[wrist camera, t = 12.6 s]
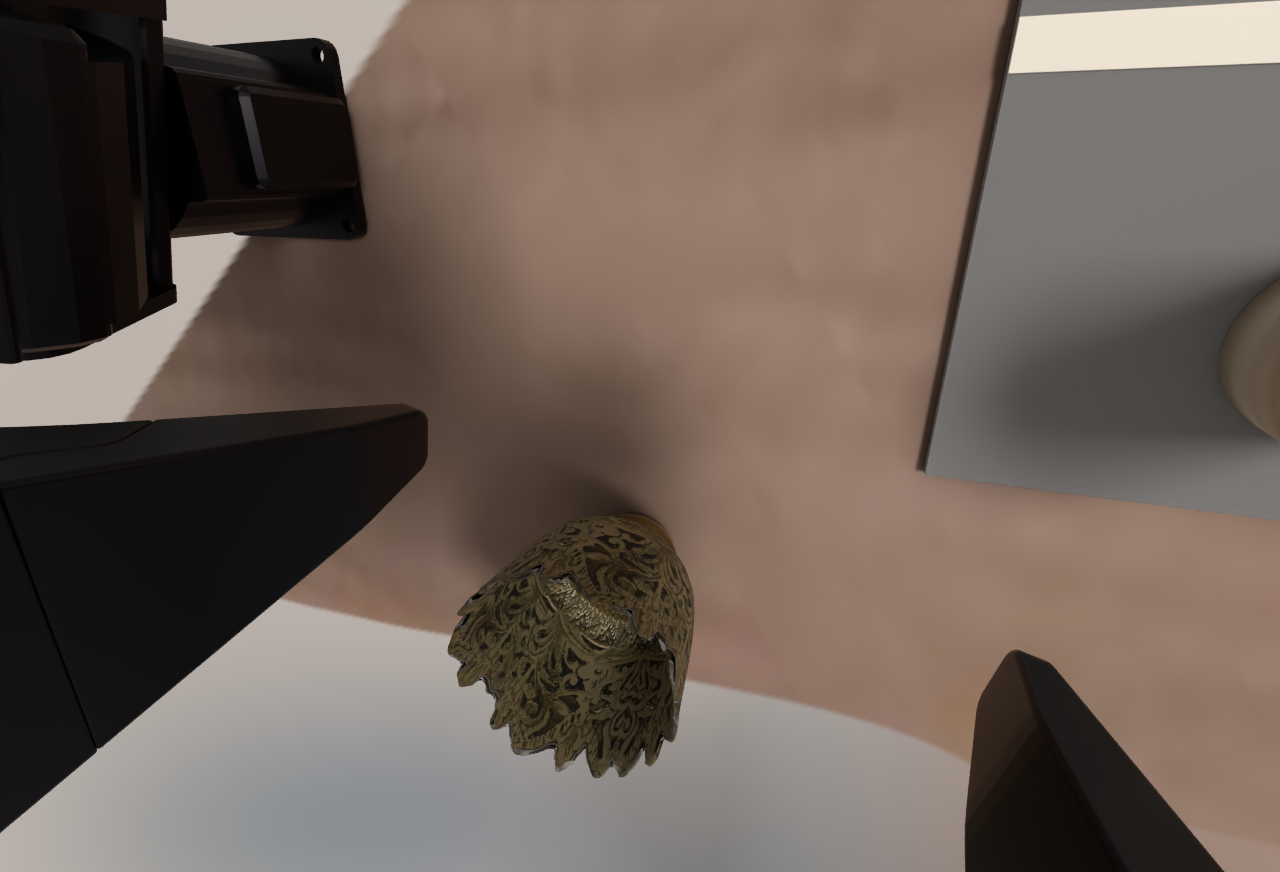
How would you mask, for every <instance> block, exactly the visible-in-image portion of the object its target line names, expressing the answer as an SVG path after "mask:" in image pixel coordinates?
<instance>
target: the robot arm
mask: <svg viewBox="0 0 1280 872" xmlns="http://www.w3.org/2000/svg"><path fill="white" fill-rule="evenodd" d="M162 20H165V21H166V20H167V14H166V0H0V363H5V364H15V363H19V362H22V361H25V360H27V361H28V360H36V359H44V358H51V357H56V356H60V355H65V354H69V353H72V352H75V351H77V350H80V349H82V348H85V347H87V346H89V345H91V344H93V343H95V342H100V341H102V340H104V339H106V338H107V337H108V336H111V335H112V334H113V333H115V332H117V331H119V330H121V329H123V328H125V327H127V326H130V325H131V324H134V323H136V322H137V321H139V320H142V319H144V318H146V317H147V316H150V315H152V314H154V313H156V312H158V311H160V310H162V309H164V308H166V307H168V306H170V305H172V304H174V303H176V302H177V292H176V285H175V284H173V280H172V255H171V238H179V237H189V236H199V235H210V234H220V233H230V232H233V233H234V234H236V235H244V236H270V237H296V238H322V239H348V240H351V239H358V238H362V237H363V236H364V235H365V233H366V220H365V214H364V208H363V202H362V196H361V190H360V184H359V178H358V172H357V166H356V160H355V154H354V148H353V142H352V136H351V130H350V124H349V118H348V112H347V106H346V100H345V94H344V88H343V82H342V76H341V70H340V64H339V58H338V54H337V51H336V49H335V47H334V46H333V44H332V43H330V42H329V41H326V40H322V39H318V38H307V39H306V38H305V39H293V40H280V41H266V42H253V43H240V44H226V45H213V46H209V45H204V44H198V43H193V42H188V41H183V40H177V39H173V38H168V37H163V25H162V24H163V23H162ZM321 51H323V54H324V60H323V62H322V60H321V58H320V53H321ZM350 220H351V221H352V223H353V226H354V229H353V230H352V229H351V226H350ZM427 455H428V419H427V416H426V414H425V413H424V412H423V411H421V410H419V409H416V408H414V407H411V406H409V405H406V404H388V405H373V406H358V407H343V408H328V409H313V410H298V411H283V412H267V413H252V414H237V415H222V416H207V417H192V418H177V419H162V420H156V421H154V422H152V421H150V420H145V421H130V422H114V423H98V424H79V425H55V426H30V427H0V833H1V832H2V831H3V830H4V829H5V828H7V827H8V826H9V825H10V824H11V823H13V822H14V821H15V820H16V819H17V818H18V817H20V816H21V815H22V814H23V813H25V812H26V811H27V810H28V809H29V808H30V807H32V806H33V805H34V804H35V803H37V802H38V801H39V800H40V799H41V798H42V797H44V796H45V795H46V794H47V793H48V792H50V791H51V790H52V789H53V788H54V787H55V786H57V785H58V784H59V783H60V782H62V781H63V780H64V779H65V778H66V777H68V776H69V775H70V774H71V773H72V772H74V771H75V770H76V769H77V768H78V767H79V766H81V765H82V764H83V763H84V762H85V761H87V760H88V759H89V758H90V757H91V756H93V755H94V754H95V753H96V752H97V748H98V749H99V748H101V747H103V746H104V745H105V744H106V743H107V742H109V741H110V740H111V739H112V738H113V737H115V736H116V735H117V734H118V733H119V732H121V731H122V730H123V729H124V728H125V727H127V726H128V725H129V724H130V723H131V722H133V721H134V720H135V719H136V718H137V717H139V716H140V715H141V714H142V713H143V712H144V711H146V710H147V709H148V708H149V707H150V706H152V705H153V704H154V703H155V702H156V701H158V700H159V699H160V698H161V697H162V696H164V695H165V694H166V693H167V692H168V691H170V690H171V689H172V688H173V687H174V686H175V685H177V684H178V683H179V682H180V681H182V680H183V679H184V678H185V677H186V676H188V675H189V674H190V673H191V672H192V671H193V670H195V669H196V668H197V667H198V666H200V665H201V664H202V663H203V662H204V661H205V660H207V659H208V658H209V657H210V656H212V655H213V654H214V653H215V652H216V651H218V650H219V649H220V648H221V647H222V646H223V645H225V644H226V643H227V642H228V641H229V640H231V639H232V638H233V637H234V636H235V635H237V634H238V633H239V632H240V631H241V630H243V629H244V628H245V627H246V626H247V625H248V624H250V623H251V622H252V621H253V620H255V619H256V618H257V617H258V616H259V615H261V614H262V613H263V612H264V611H265V610H267V609H268V608H269V607H270V606H271V605H273V604H274V603H275V602H276V601H277V600H279V599H280V598H281V597H282V596H283V595H284V594H286V593H287V592H288V591H289V590H290V589H292V588H293V587H294V586H295V585H296V584H298V583H299V582H300V581H301V580H302V579H304V578H305V577H306V576H307V575H308V574H310V573H311V572H312V571H313V570H314V569H316V568H317V567H318V566H319V565H320V564H322V563H323V562H324V561H325V560H326V559H328V558H329V557H330V556H331V555H332V554H334V553H335V552H336V551H337V550H338V549H340V548H341V547H342V546H343V545H344V544H346V543H347V542H348V541H349V540H350V539H351V538H353V537H354V536H355V535H356V534H357V533H358V532H359V531H361V530H362V529H363V528H364V527H365V526H366V525H367V524H368V523H369V522H370V521H371V520H372V519H373V518H374V517H375V516H376V515H377V514H378V513H379V512H380V511H381V510H382V509H383V508H384V507H385V506H386V505H387V504H388V503H389V502H390V501H391V500H392V499H393V498H394V497H395V496H396V495H397V494H398V493H399V492H400V490H401V489H402V488H403V487H404V486H405V485H406V484H407V483H408V482H409V481H410V480H411V479H412V478H413V477H414V476H415V475H416V474H417V473H418V472H419V471H420V470H421V469H422V468H423V466H424V465H425V462H426V460H427ZM965 872H1224V871H1223V870H1222V868H1221V867H1220V866H1219V865H1218V864H1217V862H1216V861H1215V860H1214V859H1213V858H1212V856H1211V855H1210V854H1209V853H1208V851H1207V850H1206V849H1205V848H1204V847H1203V845H1202V844H1201V843H1200V842H1199V841H1198V839H1197V838H1196V837H1195V836H1194V835H1193V833H1192V832H1191V831H1190V830H1189V829H1188V827H1187V826H1186V825H1185V824H1184V823H1183V821H1182V820H1181V819H1180V818H1179V817H1178V815H1177V814H1176V813H1175V812H1174V811H1173V809H1172V808H1171V807H1170V806H1169V805H1168V803H1167V802H1166V801H1165V800H1164V799H1163V797H1162V796H1161V795H1160V794H1159V793H1158V791H1157V790H1156V789H1155V788H1154V787H1153V785H1152V784H1151V783H1150V782H1149V781H1148V779H1147V778H1146V777H1145V776H1144V775H1143V773H1142V772H1141V771H1140V770H1139V768H1138V767H1137V766H1136V765H1135V764H1134V762H1133V761H1132V760H1131V759H1130V758H1129V756H1128V755H1127V754H1126V753H1125V752H1124V750H1123V749H1122V748H1121V747H1120V746H1119V744H1118V743H1117V742H1116V741H1115V740H1114V738H1113V737H1112V736H1111V735H1110V734H1109V732H1108V731H1107V730H1106V729H1105V728H1104V726H1103V725H1102V724H1101V723H1100V722H1099V720H1098V719H1097V718H1096V717H1095V716H1094V714H1093V713H1092V712H1091V711H1090V710H1089V708H1088V707H1087V706H1086V705H1085V704H1084V702H1083V701H1082V700H1081V699H1080V698H1079V696H1078V695H1077V694H1076V693H1075V692H1074V690H1073V689H1072V688H1071V687H1070V685H1069V684H1068V683H1067V682H1066V681H1065V679H1064V678H1063V677H1062V676H1061V675H1060V673H1059V672H1058V671H1057V670H1056V669H1055V668H1054V666H1053V665H1052V664H1050V663H1049V662H1047V661H1045V660H1043V659H1040V658H1038V657H1035V656H1032V655H1030V654H1027V653H1025V652H1022V651H1020V650H1013V651H1010V652H1009V653H1008V654H1007V655H1006V656H1005V658H1004V659H1003V661H1002V662H1001V664H1000V666H999V667H998V669H997V670H996V672H995V673H994V675H993V677H992V678H991V680H990V681H989V683H988V685H987V686H986V688H985V689H984V691H983V693H982V695H981V697H980V699H979V702H978V706H977V711H976V720H975V729H974V739H973V748H972V758H971V767H970V778H969V786H968V796H967V805H966V818H965Z"/></svg>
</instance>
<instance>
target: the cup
mask: <svg viewBox="0 0 1280 872" xmlns="http://www.w3.org/2000/svg"><path fill="white" fill-rule="evenodd" d="M457 615H459V616H463V615H464V616H463V618H462V619H461V621H460V622H459V623H458V624H457V626H456V627H455V630H454V632H453V635H452V637H451V640H450V643H449V646H448V654H449V655H450V656H451V657H454V658H456V659H457V660H458V661H460V663H461V664H462V665H461V667H460V668H459V670H458V672H457V677H458V682H459V686H461V687H465V686H471V685H473V684H474V683H475V682H477V681H478V680H482V679H480V678H483V679H484V680H483V681H484V683H485V682H486V683H485V684H486V693H488V694H491V695H493V697H494V696H495V698H496V702H495V711H494V713H493V715H492V717H491V719H490V726H491V728H492V729H494V730H495V729H500V728H502V727H505V726H506V725H507V724H509V736H510V740H511V748H512V750H513V752H514V753H515V754H517V755H522V756H526V755H530V754H535V753H539V752H540V751H544V750H545V749H554V750H555V748H556V750H555V755H554V760H555V769H556V772H560V771H562V770H563V769H565V768H567V767H568V766H569V765H572V764H573V763H574V761H575V759H576V758H577V756H578V755H579V754H581V752H582V751H583V750H584V749H586V751H585V752H586V759H587V763H588V765H589V768H590V771H591V774H592V776H593V777H594V778H600V777H601V776H603V775H604V774H605V773H606V771H607V770H608V769H609V767H613V766H614V765H615V766H614V767H615V769H616V771H617V772H618V775H619V777H624V776H626V775H627V774H628V773H629V772H630V771H631V770H632V769H633V768H634V766H635V765H636V763H637V762H638V760H639V759H640V757H641V755H642V753H643V751H644V749H645V764H646V765H648V766H649V767H650V766H651V765H653V764H654V763H655V761H656V760H657V758H658V755H659V752H660V749H661V746H662V743H663V741H664V739H665V740H667V741H669V742H673V741H674V739H675V736H676V733H677V728H678V720H679V711H680V705H681V700H682V695H683V690H684V685H685V679H686V674H687V668H688V663H689V657H690V651H691V645H692V637H693V627H694V598H693V592H692V587H691V584H690V580H689V577H688V574H687V572H686V570H685V567H684V565H683V564H682V562H681V560H680V559H679V557H678V556H677V554H676V550H675V546H674V543H673V541H672V539H671V537H670V536H669V534H668V533H667V532H666V530H665V529H664V528H663V527H662V526H661V525H659V524H658V523H657V522H655V521H654V520H652V519H650V518H648V517H645V516H642V515H639V514H631V513H630V514H620V515H616V516H590V517H585V518H581V519H577V520H573V521H571V522H568V523H566V524H564V525H562V526H560V527H558V528H556V529H555V530H553V531H551V532H550V533H548V534H547V535H545V536H544V537H542V538H541V539H540V540H538V541H537V542H536V543H534V544H533V545H532V546H531V547H529V548H528V549H527V550H525V551H524V552H523V553H522V554H521V555H519V556H518V557H517V558H516V559H515V560H513V561H512V562H511V563H510V564H509V565H507V566H506V567H505V568H504V569H503V570H502V571H500V572H499V573H498V574H497V575H496V576H495V577H493V578H492V579H491V580H490V581H489V582H488V583H486V584H485V585H484V586H482V587H481V588H480V590H479V591H478V592H477V593H476V594H475V595H473V596H471V597H470V598H469V600H468V601H467V602H466V603H465V605H464V606H463V607H462V608H461V609H460V610H459V612H458V613H457ZM495 698H494V699H495Z"/></svg>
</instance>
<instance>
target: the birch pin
mask: <svg viewBox="0 0 1280 872" xmlns="http://www.w3.org/2000/svg"><path fill="white" fill-rule="evenodd" d="M1218 374H1219V379H1220V384H1221V387H1222V390H1223V392H1224V395H1225V396H1226V398H1227V400H1228V401H1229V403H1230V404H1231V405H1232V407H1233V408H1234V409H1235V410H1236V411H1237V412H1238V413H1239V414H1240V415H1242V416H1243V417H1244V418H1245V419H1247V420H1248V421H1249V422H1251V423H1252V424H1254V425H1255V426H1257V427H1258V428H1260V429H1261V430H1263V431H1264V432H1266V433H1267V434H1268V435H1270V436H1271V437H1273V438H1274V439H1276V440H1277V441H1279V442H1280V278H1279V279H1278V280H1276V281H1275V282H1273V283H1272V284H1270V285H1269V286H1268V287H1267V288H1265V289H1264V290H1263V291H1261V292H1260V293H1259V294H1258V295H1257V296H1256V297H1255V298H1254V299H1253V300H1251V301H1250V302H1249V303H1248V304H1247V306H1246V307H1245V308H1244V309H1243V310H1242V311H1241V313H1240V314H1239V315H1238V316H1237V318H1236V319H1235V321H1234V322H1233V324H1232V325H1231V327H1230V329H1229V331H1228V333H1227V335H1226V337H1225V339H1224V341H1223V344H1222V347H1221V350H1220V356H1219V362H1218Z"/></svg>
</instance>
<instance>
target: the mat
mask: <svg viewBox="0 0 1280 872" xmlns="http://www.w3.org/2000/svg"><path fill="white" fill-rule="evenodd" d="M1279 278H1280V0H1020V1H1019V5H1018V10H1017V15H1016V20H1015V25H1014V30H1013V35H1012V40H1011V45H1010V50H1009V54H1008V59H1007V64H1006V69H1005V74H1004V79H1003V84H1002V89H1001V94H1000V99H999V103H998V108H997V113H996V118H995V123H994V128H993V133H992V138H991V143H990V148H989V152H988V157H987V162H986V167H985V172H984V177H983V182H982V187H981V192H980V197H979V201H978V206H977V211H976V216H975V221H974V226H973V231H972V236H971V241H970V246H969V250H968V255H967V260H966V265H965V270H964V275H963V280H962V285H961V290H960V295H959V299H958V304H957V309H956V314H955V319H954V324H953V329H952V334H951V339H950V344H949V349H948V353H947V358H946V363H945V368H944V373H943V378H942V383H941V388H940V393H939V398H938V402H937V407H936V412H935V417H934V422H933V427H932V432H931V437H930V442H929V447H928V451H927V456H926V461H925V466H924V473H925V475H929V476H937V477H944V478H952V479H960V480H968V481H975V482H983V483H991V484H999V485H1007V486H1014V487H1022V488H1030V489H1038V490H1045V491H1053V492H1061V493H1069V494H1076V495H1084V496H1092V497H1100V498H1107V499H1115V500H1123V501H1131V502H1138V503H1146V504H1154V505H1162V506H1170V507H1177V508H1185V509H1193V510H1201V511H1208V512H1216V513H1224V514H1232V515H1239V516H1247V517H1255V518H1263V519H1270V520H1278V521H1280V442H1279V441H1277V440H1276V439H1274V438H1273V437H1271V436H1270V435H1268V434H1267V433H1266V432H1264V431H1263V430H1261V429H1260V428H1258V427H1257V426H1255V425H1254V424H1252V423H1251V422H1249V421H1248V420H1247V419H1245V418H1244V417H1243V416H1242V415H1240V414H1239V413H1238V412H1237V411H1236V410H1235V409H1234V408H1233V407H1232V405H1231V404H1230V403H1229V401H1228V400H1227V398H1226V396H1225V395H1224V392H1223V390H1222V387H1221V384H1220V379H1219V374H1218V362H1219V356H1220V350H1221V347H1222V344H1223V341H1224V339H1225V337H1226V335H1227V333H1228V331H1229V329H1230V327H1231V325H1232V324H1233V322H1234V321H1235V319H1236V318H1237V316H1238V315H1239V314H1240V313H1241V311H1242V310H1243V309H1244V308H1245V307H1246V306H1247V304H1248V303H1249V302H1250V301H1251V300H1253V299H1254V298H1255V297H1256V296H1257V295H1258V294H1259V293H1260V292H1261V291H1263V290H1264V289H1265V288H1267V287H1268V286H1269V285H1270V284H1272V283H1273V282H1275V281H1276V280H1278V279H1279Z"/></svg>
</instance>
